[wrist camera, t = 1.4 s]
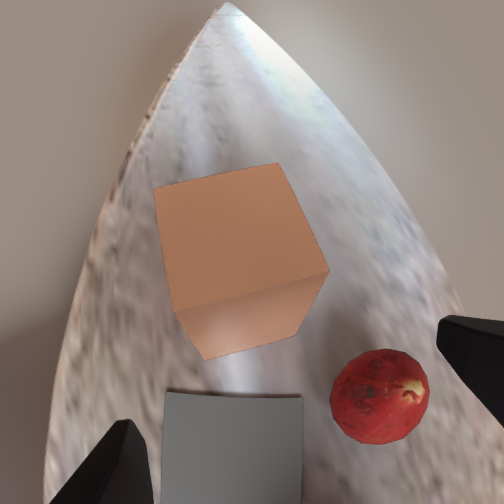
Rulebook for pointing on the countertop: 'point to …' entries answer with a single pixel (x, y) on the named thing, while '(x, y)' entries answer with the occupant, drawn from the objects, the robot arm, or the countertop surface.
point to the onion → (380, 396)
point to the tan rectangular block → (238, 258)
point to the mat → (231, 450)
